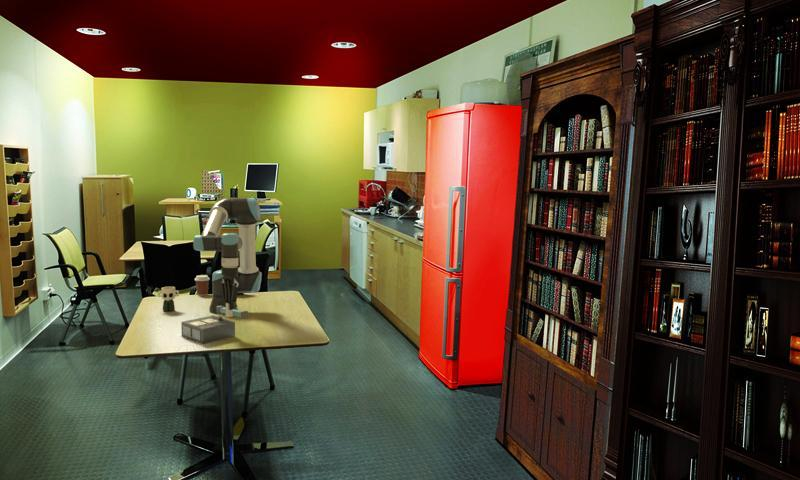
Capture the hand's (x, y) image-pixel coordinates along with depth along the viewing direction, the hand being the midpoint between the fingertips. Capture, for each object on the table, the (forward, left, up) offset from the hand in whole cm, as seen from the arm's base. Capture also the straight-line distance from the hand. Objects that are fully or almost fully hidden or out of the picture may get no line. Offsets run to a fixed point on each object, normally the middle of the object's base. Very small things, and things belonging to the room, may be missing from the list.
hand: (229, 316), depth 263 cm
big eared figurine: (-69, +8, -11) cm, 70 cm away
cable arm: (-2, +3, 0) cm, 3 cm away
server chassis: (-10, -5, -11) cm, 15 cm away
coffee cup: (-93, +44, -11) cm, 103 cm away
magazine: (-78, +59, -11) cm, 98 cm away
